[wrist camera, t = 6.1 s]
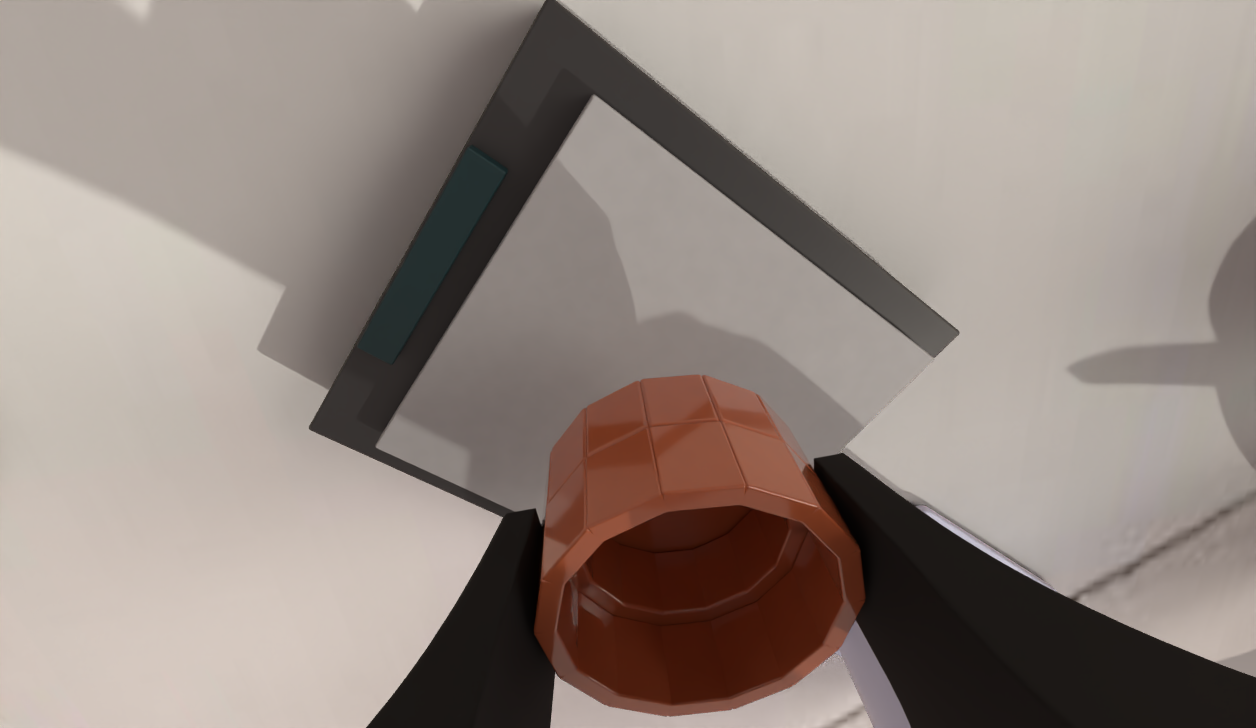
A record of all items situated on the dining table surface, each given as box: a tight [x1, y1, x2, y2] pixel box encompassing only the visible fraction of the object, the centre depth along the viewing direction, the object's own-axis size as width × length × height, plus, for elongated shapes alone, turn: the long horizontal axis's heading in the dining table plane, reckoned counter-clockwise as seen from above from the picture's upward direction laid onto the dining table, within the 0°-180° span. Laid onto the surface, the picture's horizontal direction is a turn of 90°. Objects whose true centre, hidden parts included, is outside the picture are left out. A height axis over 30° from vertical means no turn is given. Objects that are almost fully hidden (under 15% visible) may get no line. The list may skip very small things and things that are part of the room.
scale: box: [309, 0, 959, 526], centre depth 17 cm, size 14×13×3 cm
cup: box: [533, 374, 866, 717], centre depth 11 cm, size 6×6×4 cm
